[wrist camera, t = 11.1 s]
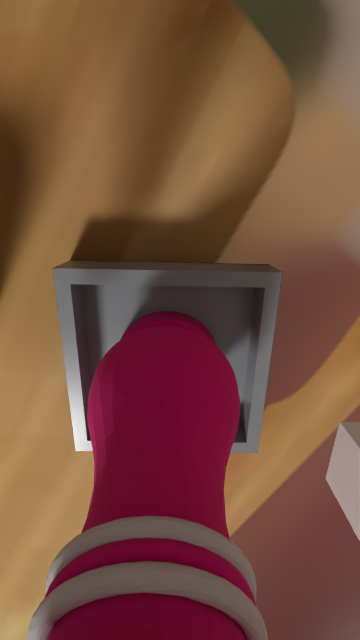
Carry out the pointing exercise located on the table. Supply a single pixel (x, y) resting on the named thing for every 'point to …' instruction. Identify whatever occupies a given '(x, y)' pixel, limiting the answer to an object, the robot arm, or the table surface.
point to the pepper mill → (156, 499)
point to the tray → (169, 295)
